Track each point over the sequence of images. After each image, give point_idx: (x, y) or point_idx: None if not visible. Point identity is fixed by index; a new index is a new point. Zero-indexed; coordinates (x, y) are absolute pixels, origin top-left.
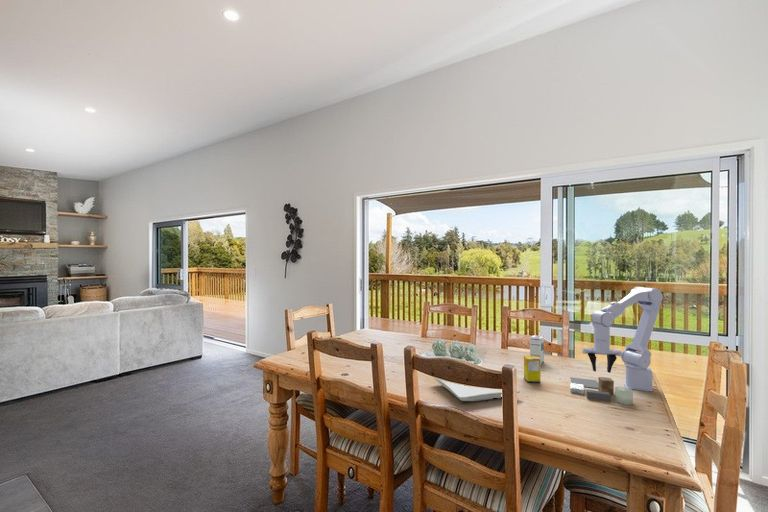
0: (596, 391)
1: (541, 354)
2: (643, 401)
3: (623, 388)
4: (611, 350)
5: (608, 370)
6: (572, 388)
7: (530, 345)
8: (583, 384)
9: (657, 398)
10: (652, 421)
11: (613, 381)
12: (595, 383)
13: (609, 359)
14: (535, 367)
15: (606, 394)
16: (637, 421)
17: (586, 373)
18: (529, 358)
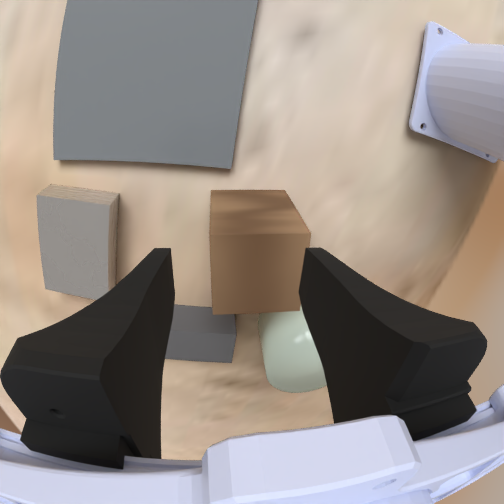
0: (170, 341)
1: None
2: (388, 289)
3: (314, 357)
4: (487, 448)
5: (304, 298)
6: (55, 290)
7: None
8: (125, 120)
9: (464, 233)
10: (306, 420)
11: (297, 310)
12: (225, 64)
13: (343, 417)
14: None
15: (214, 361)
16: (263, 430)
17: None
18: None
